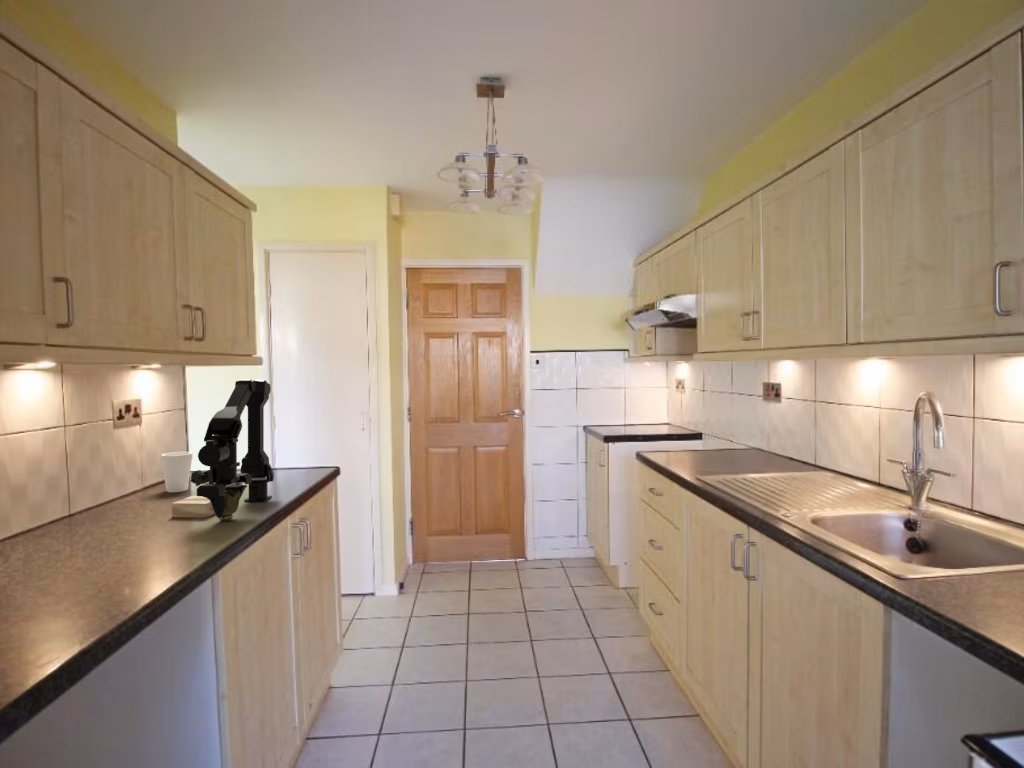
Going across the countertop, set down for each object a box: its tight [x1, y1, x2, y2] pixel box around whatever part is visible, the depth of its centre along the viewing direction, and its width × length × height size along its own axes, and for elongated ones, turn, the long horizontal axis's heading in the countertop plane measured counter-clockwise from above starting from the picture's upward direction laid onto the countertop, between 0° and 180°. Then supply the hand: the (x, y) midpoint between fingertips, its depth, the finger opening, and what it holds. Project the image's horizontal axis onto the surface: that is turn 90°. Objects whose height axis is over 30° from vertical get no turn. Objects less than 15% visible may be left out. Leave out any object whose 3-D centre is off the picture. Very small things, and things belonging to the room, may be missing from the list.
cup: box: [213, 489, 241, 522], centre depth 155 cm, size 8×7×8 cm
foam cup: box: [160, 451, 194, 493], centre depth 193 cm, size 10×9×13 cm
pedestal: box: [171, 494, 216, 518], centre depth 163 cm, size 10×10×4 cm
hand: (225, 514), depth 155 cm, fingers closed on cup, 6 cm apart
